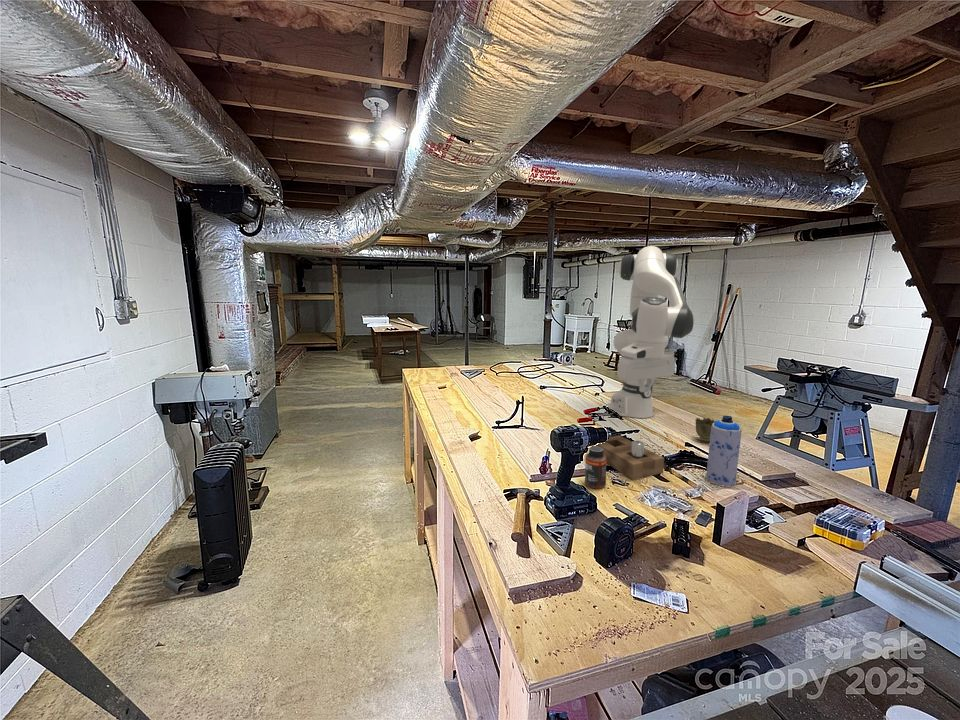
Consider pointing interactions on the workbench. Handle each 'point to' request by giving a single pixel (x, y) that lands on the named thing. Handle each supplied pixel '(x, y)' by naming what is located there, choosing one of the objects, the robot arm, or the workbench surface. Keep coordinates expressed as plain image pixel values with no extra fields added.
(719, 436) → the aerosol can
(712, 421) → the cup
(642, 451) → the peg
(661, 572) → the workbench surface
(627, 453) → the socket block
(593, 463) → the supplement bottle
